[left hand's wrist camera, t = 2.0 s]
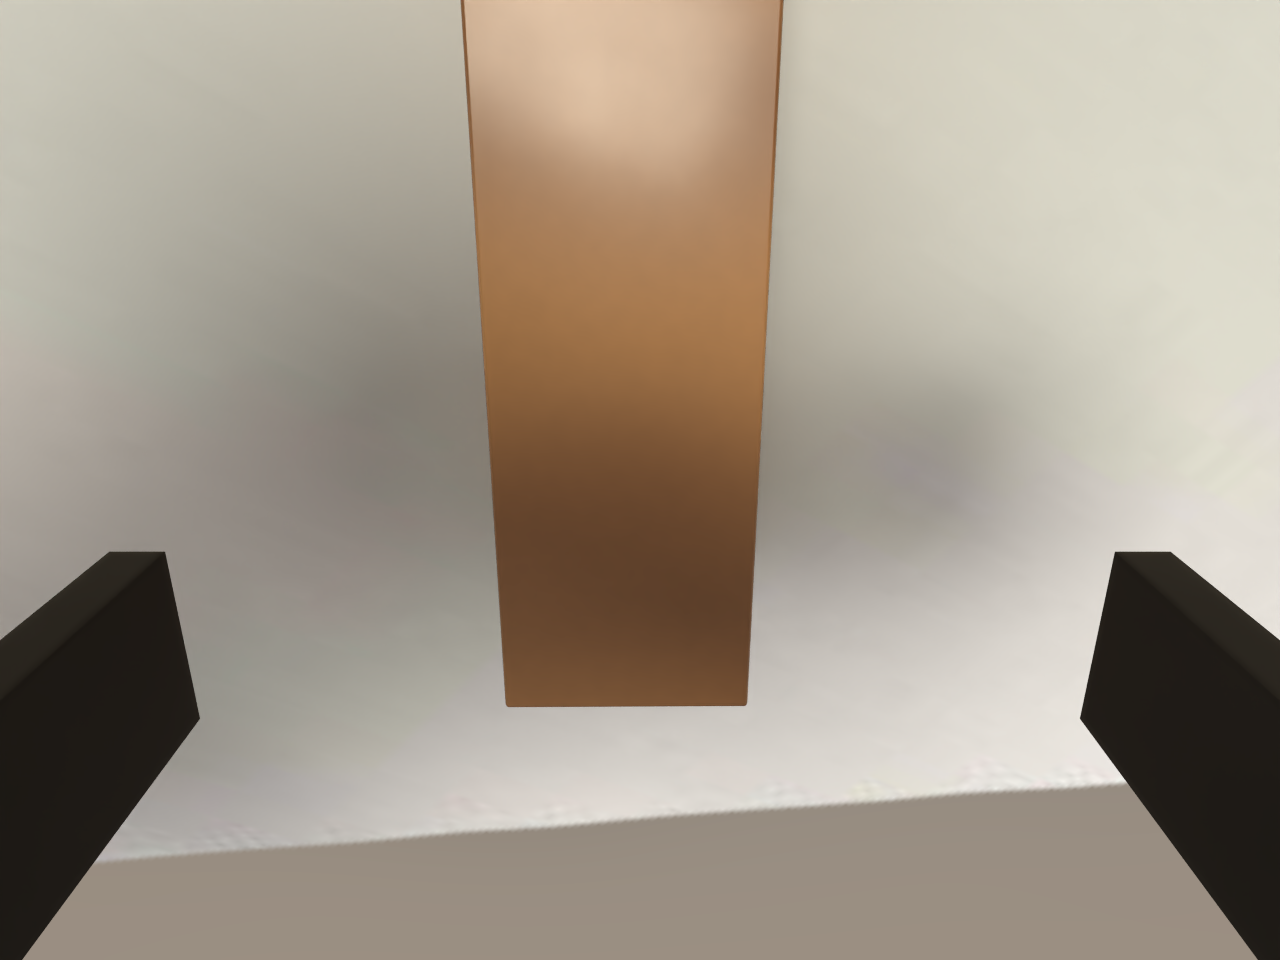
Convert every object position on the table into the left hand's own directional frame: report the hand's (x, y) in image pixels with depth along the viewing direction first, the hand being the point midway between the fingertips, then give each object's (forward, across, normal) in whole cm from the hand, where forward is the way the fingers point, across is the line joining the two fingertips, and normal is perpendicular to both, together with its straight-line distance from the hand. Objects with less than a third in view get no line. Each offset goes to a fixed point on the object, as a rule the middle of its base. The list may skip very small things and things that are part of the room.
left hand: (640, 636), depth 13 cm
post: (+12, 0, -37) cm, 39 cm away
